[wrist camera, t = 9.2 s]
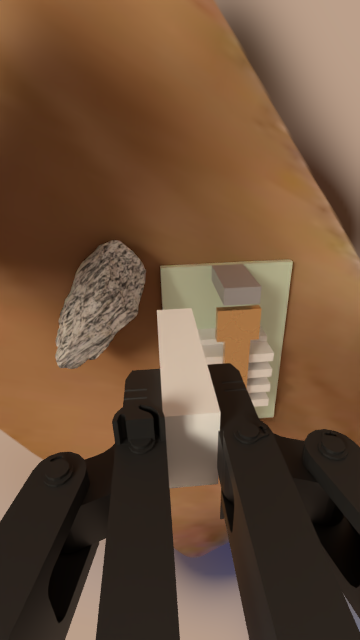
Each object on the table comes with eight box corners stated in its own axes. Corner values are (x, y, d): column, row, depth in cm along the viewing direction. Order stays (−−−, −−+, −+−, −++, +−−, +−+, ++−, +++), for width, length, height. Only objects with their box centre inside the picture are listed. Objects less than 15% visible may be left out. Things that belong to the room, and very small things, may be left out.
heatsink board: (168, 420, 56) (171, 466, 48) (160, 265, 44) (162, 291, 36) (271, 412, 57) (291, 456, 49) (289, 259, 45) (320, 283, 37)
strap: (247, 436, 49) (249, 442, 48) (212, 439, 49) (214, 445, 48) (258, 304, 40) (261, 309, 39) (215, 307, 40) (217, 311, 38)
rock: (76, 351, 48) (73, 389, 39) (27, 313, 45) (10, 345, 36) (157, 273, 47) (173, 294, 38) (112, 227, 44) (118, 238, 35)
